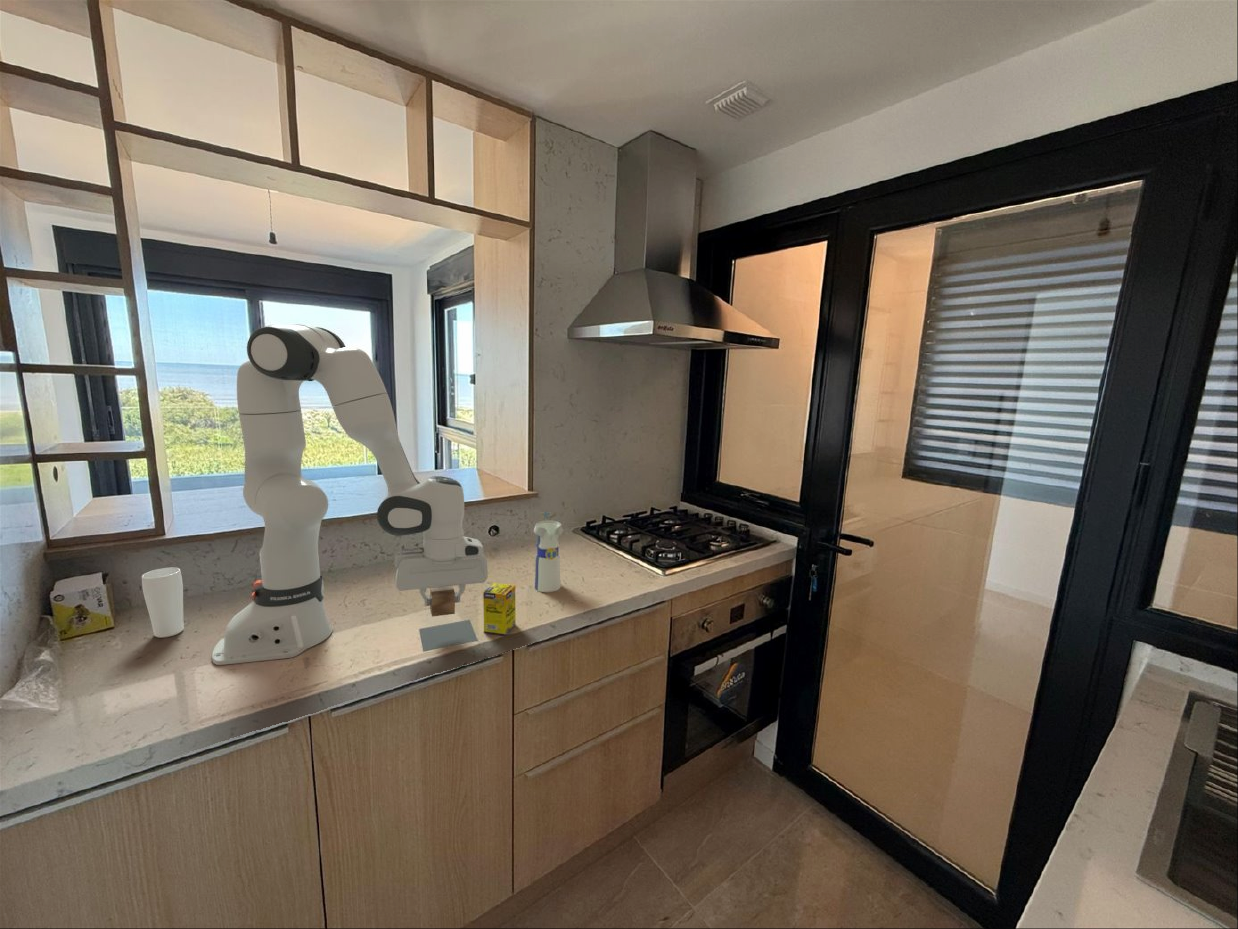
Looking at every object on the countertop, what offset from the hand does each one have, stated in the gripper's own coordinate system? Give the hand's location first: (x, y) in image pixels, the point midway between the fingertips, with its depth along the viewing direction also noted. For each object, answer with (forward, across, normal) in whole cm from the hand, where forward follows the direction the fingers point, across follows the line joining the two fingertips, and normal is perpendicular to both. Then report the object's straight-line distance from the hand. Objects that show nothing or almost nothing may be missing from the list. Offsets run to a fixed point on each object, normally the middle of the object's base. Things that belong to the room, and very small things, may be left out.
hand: (442, 603), depth 117 cm
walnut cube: (+2, 0, 0) cm, 2 cm away
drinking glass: (+11, -58, +26) cm, 65 cm away
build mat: (+8, +2, 0) cm, 9 cm away
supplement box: (+8, +14, -2) cm, 16 cm away
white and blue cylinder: (+7, +32, +19) cm, 38 cm away
